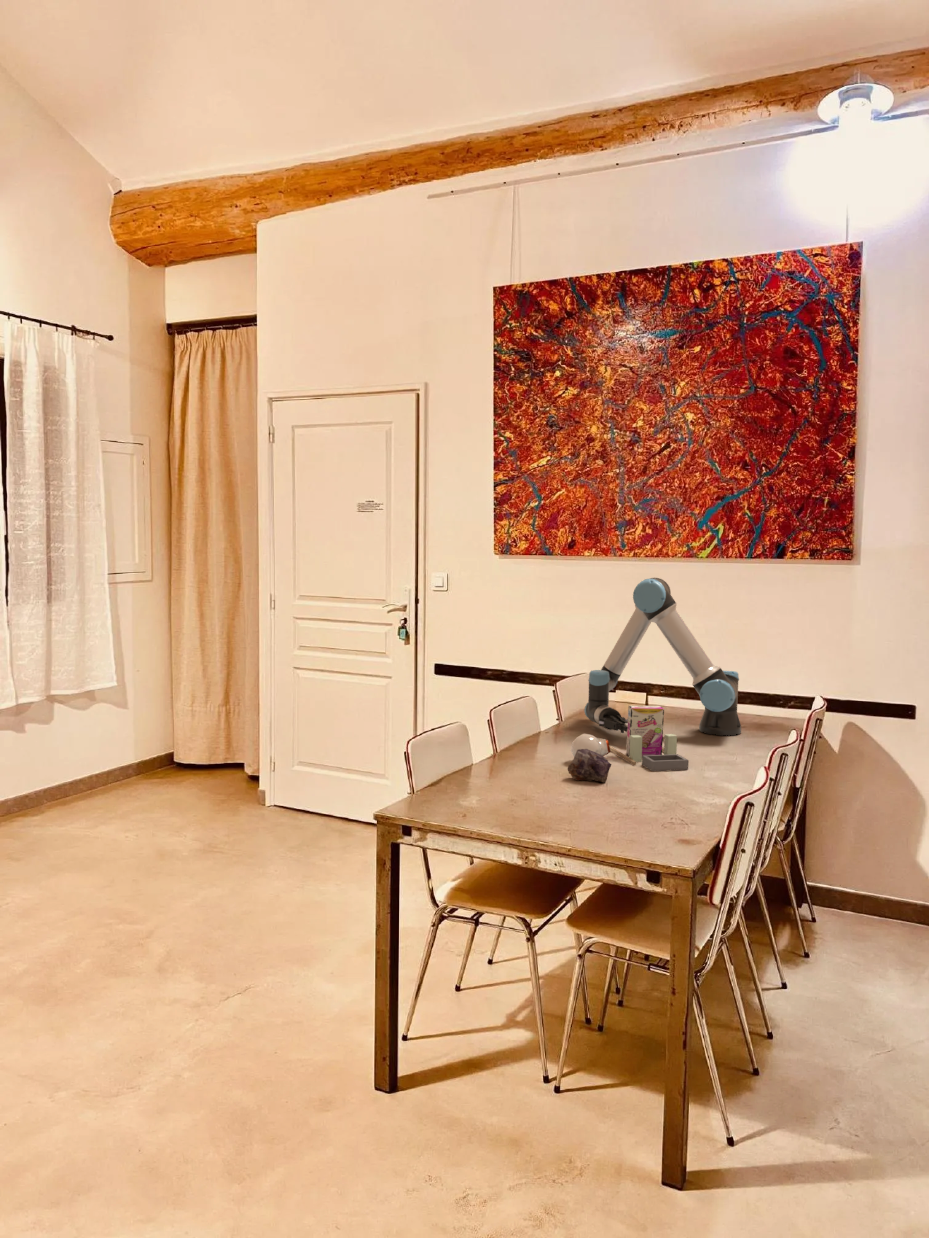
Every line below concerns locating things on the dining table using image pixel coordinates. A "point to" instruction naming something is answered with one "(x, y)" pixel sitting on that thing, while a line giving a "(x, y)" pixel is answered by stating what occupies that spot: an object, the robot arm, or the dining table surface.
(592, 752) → the rock
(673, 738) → the posts
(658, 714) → the candy bar box
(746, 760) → the dining table surface
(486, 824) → the dining table surface
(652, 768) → the tray
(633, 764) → the lane rails
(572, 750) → the potion bottle
